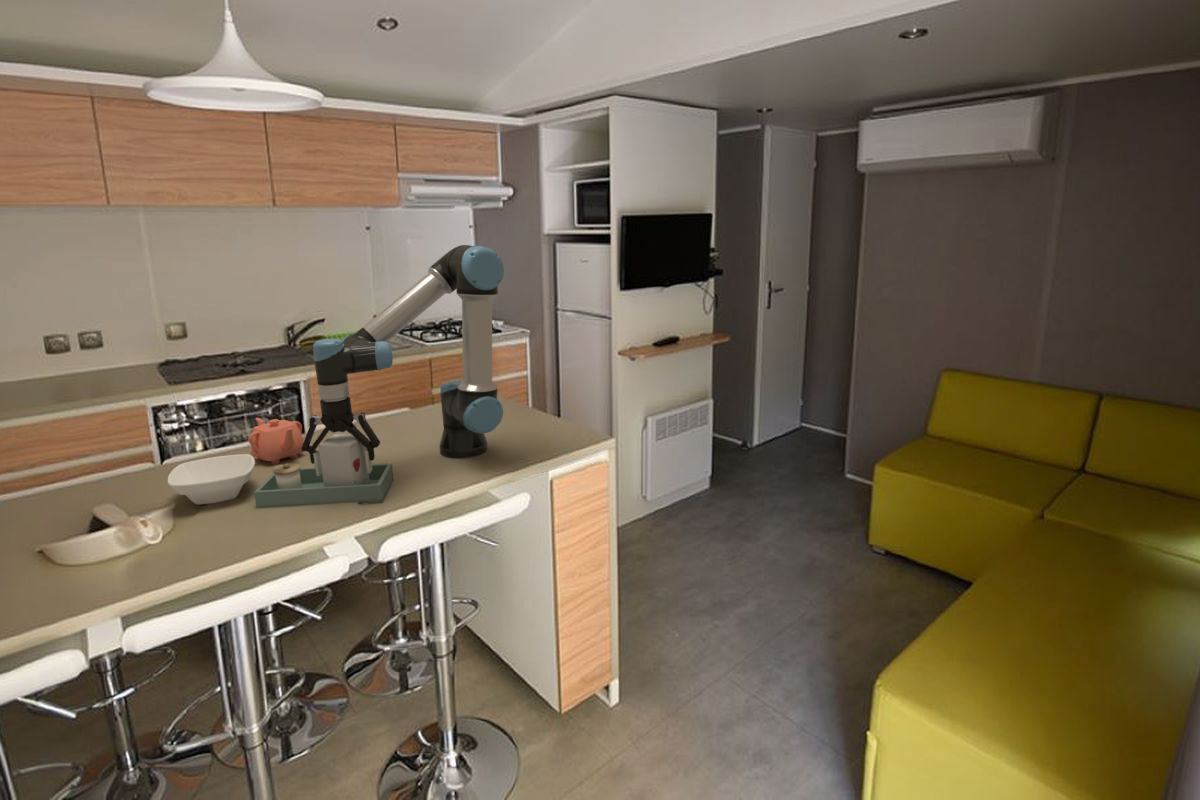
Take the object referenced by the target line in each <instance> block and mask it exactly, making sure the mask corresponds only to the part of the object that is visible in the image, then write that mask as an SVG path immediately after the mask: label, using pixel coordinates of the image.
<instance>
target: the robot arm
mask: <svg viewBox="0 0 1200 800" xmlns="http://www.w3.org/2000/svg"><path fill="white" fill-rule="evenodd" d="M504 275H505V267H504V263H503V261H502V258H501V257H500V255H499V254H498V253H497V252H496V251H494V250H493V249H492V248H489V247H485V245H484V246H483V245H471V244H470V245H467V244H461V245H458V246H456V247H454V248H452V249H450V250H449V251H448V252H446V253H445V254H444V255H442V257H440V258H438V260H437V261H436V262H434V263H433V264H432V265H430V267H429V268H428V272H427V274H425V275H424V276H423V277H422V278H421V279H420V280H418V281H417V282H416V283H415V284H413V285H412V286H411V287H410V288H409V289H407V290H406V291H405V292H403V293H402V294H401V295H400V296H398V297H397V298H396V299H395V300H394V301H393V302H391V303H390V304H389V305H388V306H386V308H384V309H383V310H381V312H379V313H378V314H377V315H376V316H375V317H373V318H372V319H371V320H370V321H369V322H367V323H366V324H365V325H364V326H363V327H361V328H360V329H359V330H357V331H356V332H355V333H352V334H351V333H350V334H347V335H345V336H344V337H343V338H342V339H340V338H324V339H319V340H316V341H315V342H314V343H313V345H312V348H313V349H312V351H313V352H312V353H313V363H314V366H315V367H314V368H315V375H316V381H317V382H316V383H317V390H318V397H319V399H320V400H319V404H320V410H321V411H320V412H321V416H317V415H315V414H313V415H312V416H311V417H309V427H308V430H307V432H306V436H305V438H304V439H303V445H302V448H301V450H302V452H308V454H309V459H310V463H311V464H312V465H314V468H315V469H316V476H320V475H321V473H322V466H321V459H320V451H319V449H317V448H319V444H320V443H321V442H323V441H324V438H325V437H326V436H327V435H328V433H329V432H331V433H337V432H338V433H339V432H340V433H344V432H347V433H348V434H352V435H353V436H354V437H355V438H356V439H357V440H358V441H359V442H360V443H362V444H363V445H364V446H365V447H366V450H365V457H366V465H367V473H371V471H372V470H373V469H372V464H373V463H372V461H375V460H374V459H375V456H376V455H375V448H378V447H379V446H380V444H381V440H380V439H379V438H378V437H377V435H376V434H375V431H374V430H373V429H372V427H371V426H370V424H369V423H368V421H367V419H366V415H365V412H360V414H359V413H358V414H354V413H353V410H352V402H351V397H350V387H349V380H348V379H349V378H348V375H349V374H358V373H364V372H365V373H366V372H371V371H372V372H373V371H381V370H384V369H390V368H391V367H392V366H393V363H394V361H393V360H394V359H393V358H394V357H393V351H392V347H391V345H390V343H389V342H390V341H391V339H393V338H394V337H395V336H396V335H398V334H399V333H400V332H401V331H402V330H403V329H405V328H406V327H407V326H408V325H410V324H411V323H412V322H413V321H414V320H416V319H417V318H418V317H419V316H420V315H422V314H423V313H424V312H425V311H426V310H427V309H428V308H430V307H431V306H432V305H433V304H435V303H436V302H437V301H439V299H441V298H442V297H443V296H444V295H446V294H452V293H453V292H455V290H456V295H457V296H458V297H459V298H460V300H461V319H462V322H461V324H462V325H461V329H462V334H461V335H462V343H461V344H462V379H456V380H455V379H454V380H450V381H446V382H443V383H442V384H441V385H440V393H439V396H440V401H441V402H440V403H441V413H442V425H443V431H442V434H441V435H442V436H441V439H440V443H439V453H440V455H441V456H442V457H446V458H451V459H466V458H473V457H476V456H479V455H482V454H484V453H485V452H487V451H488V448H489V447H488V441H487V437H486V436H485V434H488V433H490V432H492V431H493V430H495V429H496V428H497V426H499V425H500V423H501V421H502V420H503V416H504V409H503V405H502V403H501V401H499V399H498V386H497V385H496V384H495V382H494V381H493V300H494V299H495V298H496V297H497V296H498V294H499V293H498V288H499V287H498V286H499V284H500V283H501V282H502V280H503V278H504ZM354 421H356V423H358V424H359V426H360V427H361V429H362V430H363V432H364V433H365V434H363V433H362V431H360V430H359V429H358V428H357V426H356V425H355V424H354V423H353V422H354ZM320 422H321V423H322V424H323V426H324V429H323V430H322V431H321V432H320V434H319V435H318V437H317V438H316V439H315V440H314V442H313V443H312V445H310V444H311V442H312V438H313V436H314V434H315V431H316V428H317V426H318V425H319V424H320ZM366 436H367V437H366ZM316 449H317V450H316Z"/></svg>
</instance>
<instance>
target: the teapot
mask: <svg viewBox="0 0 1200 800" xmlns="http://www.w3.org/2000/svg"><path fill="white" fill-rule="evenodd" d="M254 419H255V421H256V422H257V424H258V425H257V426H256V425H255V426H254V427H252V430H251V431H252V432H250V434H249V435H248V437H247V439H248V441H247V442H248V443H249V444H250V446H251V452H250V455H251V456H253V458H254V457H256V458H258V459H260V460H261V461H265V462H266V461H267V462H270V464H271V465H278V464H280V463H281V461H280V460H282V459H285V458H288V457H289V459H297V458H299V457H300V456H299V455H298V454H299V453H302V452H303V451H302V450H301V448H302V445H303V443H304V437H303V436H302V430H303V426H302V425H303V424H301V422H300V421H298V420H293V421H290V420H285V419H280V420H279V419H278V418H275V419H274V418H273V419H269V420H268V422H267V423H265V422H264V420H263V419H262V418H260V417H256V418H254Z"/></svg>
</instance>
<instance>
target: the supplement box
mask: <svg viewBox="0 0 1200 800" xmlns="http://www.w3.org/2000/svg"><path fill="white" fill-rule="evenodd" d="M318 450H319V452H320V459H321V466H322V474H323V482H324V487H332V486H350V485H367V484H370V480H369V473H367V465H366V457H365V450H366V447H365V446H364V445H363V444H362V443H360V442H359V441H358V440H357V439H356V438H355V437H354V436H353V435H352V434H351V433H334V434H332V435H331V436H330V437H327V438H326V439H325V440H322V441H321V443H320V444H319V445H318Z"/></svg>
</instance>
